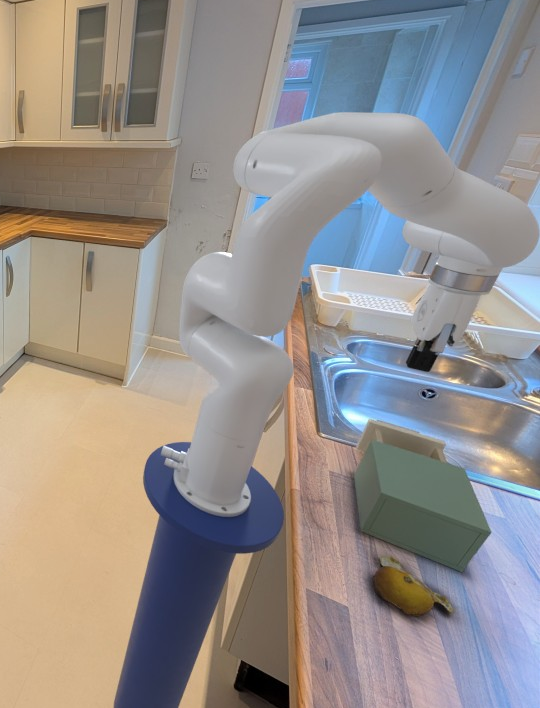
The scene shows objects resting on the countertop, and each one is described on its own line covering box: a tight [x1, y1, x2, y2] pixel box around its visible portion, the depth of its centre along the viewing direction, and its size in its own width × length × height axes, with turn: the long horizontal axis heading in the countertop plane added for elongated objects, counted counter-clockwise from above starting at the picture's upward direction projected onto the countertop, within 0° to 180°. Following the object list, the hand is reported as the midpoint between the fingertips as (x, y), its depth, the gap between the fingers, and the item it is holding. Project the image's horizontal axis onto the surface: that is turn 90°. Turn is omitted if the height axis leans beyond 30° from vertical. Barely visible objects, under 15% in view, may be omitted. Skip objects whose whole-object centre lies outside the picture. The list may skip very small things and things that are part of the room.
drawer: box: [355, 418, 448, 463], centre depth 76 cm, size 17×10×7 cm, turn 146°
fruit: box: [372, 555, 455, 617], centre depth 58 cm, size 8×8×4 cm
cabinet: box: [353, 440, 492, 573], centre depth 68 cm, size 14×12×9 cm
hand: (417, 367), depth 80 cm, fingers closed
